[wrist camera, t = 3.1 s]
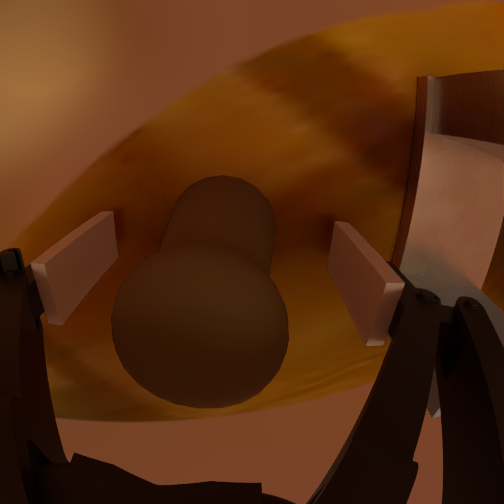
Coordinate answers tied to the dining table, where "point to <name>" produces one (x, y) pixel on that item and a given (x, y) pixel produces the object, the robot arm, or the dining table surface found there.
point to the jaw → (448, 297)
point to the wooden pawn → (206, 301)
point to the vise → (454, 182)
